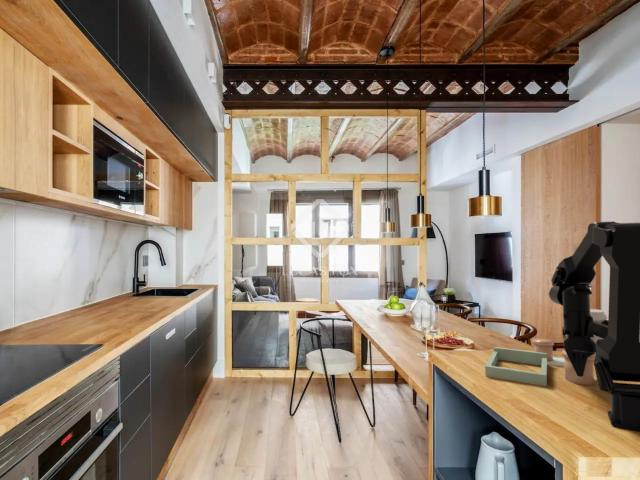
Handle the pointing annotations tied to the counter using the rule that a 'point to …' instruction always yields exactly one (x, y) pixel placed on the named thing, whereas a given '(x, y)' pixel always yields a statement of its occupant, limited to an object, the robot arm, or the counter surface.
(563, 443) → the counter surface
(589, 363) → the pot
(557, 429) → the counter surface
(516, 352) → the green shallow rectangular frame
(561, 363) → the white square board
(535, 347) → the pot
